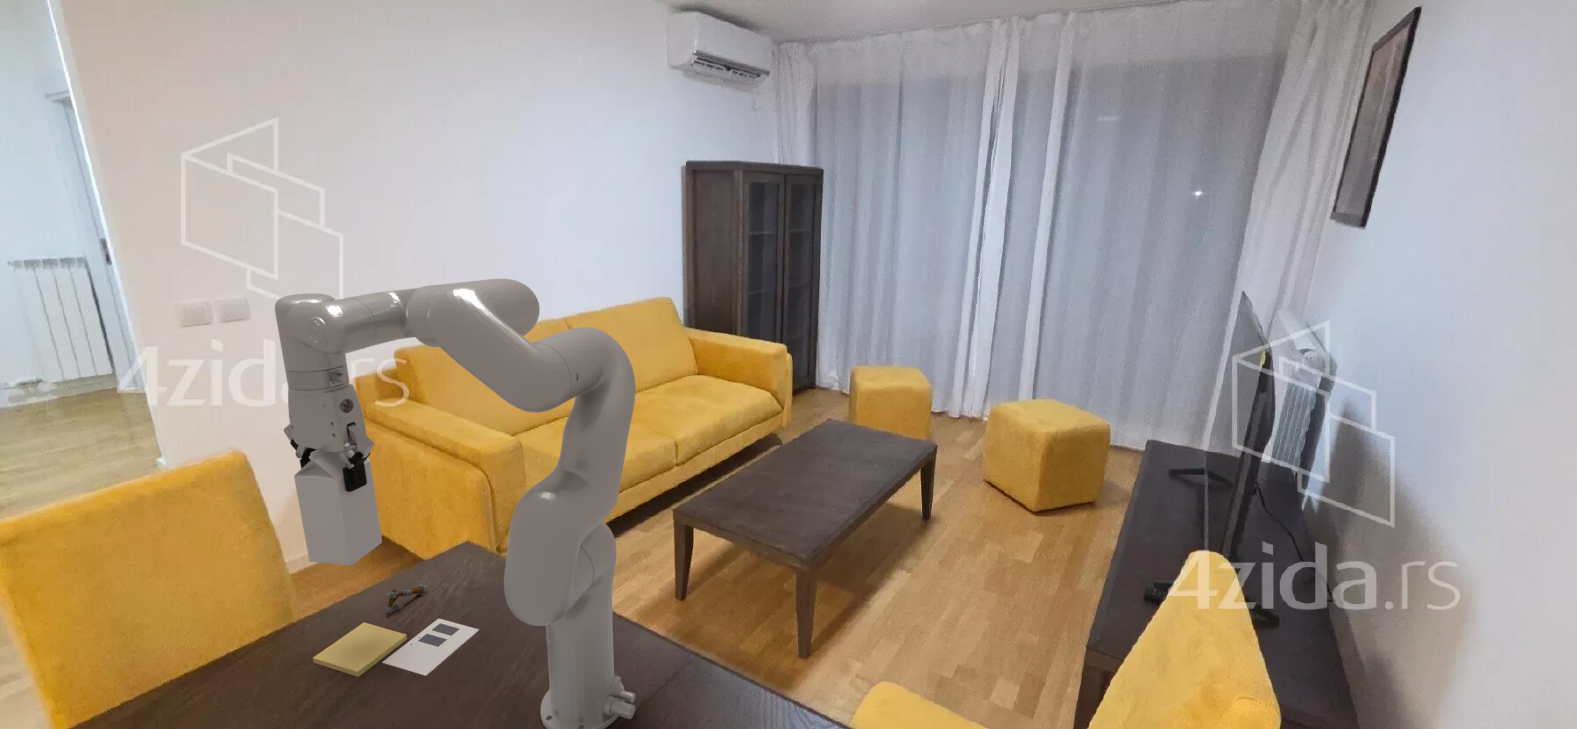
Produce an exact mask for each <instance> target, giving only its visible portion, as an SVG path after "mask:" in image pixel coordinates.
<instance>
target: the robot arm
mask: <svg viewBox="0 0 1577 729" xmlns="http://www.w3.org/2000/svg"><path fill="white" fill-rule="evenodd" d="M274 313H275V318H276V323H277V330H278V331H277V332H278V336H279V343H280V347H281V354H282V359H283V365H284V372H285V377H286V382H287V388H288V389H287V407H288V408H287V409H288V419H289V424H288V425H286V427H284V428H283V432H284V434H285V436H286V438H288V440H289V442H290V446H292V448H293V449H294V450H295V457H296V458H298V459H299V464H300V470H301V469H302V468H303V467H304V466H305V465H306V464H307V463H308V462H310V461H311V460H310V459H309V456H310V455H311V452H313V451H316V450H318V449H319V450H323V451H328V452H333V453H338V455H339V457H340V458H341V460H342V461H343V463H344V464H345V466H346V467H345V468H343V476H344V481H345V487H346V491H347V492H352V491H354V490H356V489H358V488H360V487H362V486H365V485H366V484H367V478H366V472H365V465H364V462H366V461H367V458H368V459H369V457H370V455H371V452H372V450H373V448H374V445H375V443H374V441H373V439H370V438H369V436H367V429H366V423H365V418H364V414H363V409H362V406H361V402H360V400H359V397H358V395H357V391H356V389H355V387H354V385H353V384H351V383H350V378H349V376H350V375H349V370H348V369H349V368H348V363H347V362H348V361H347V357H346V354H349V353H352V352H357V351H359V350H363V349H366V348H369V347H373V346H377V345H381V344H385V343H389V342H393V341H394V342H395V341H398V340H402V339H403V340H404V339H410V338H411V339H412V338H416V340H417V341H418V342H420V343H421V344H423V345H425V346H428V347H432V348H441V350H443V351H444V352H445V353H446V355H448V356H449V357H450V358H451V359H452V360H453V361H455V363H457V364H458V365H459V366H461V367H462V368H463V369H465V370H466V371H467V372H468V373H470V374H471V375H472V376H473V377H475V378H476V379H477V380H478V381H479V382H481V383H483V385H485V386H486V387H487V388H489V389H490V390H491V391H492V392H494V393H495V394H496V395H497V396H499V398H501V399H502V400H503V401H505V402H506V403H507V404H510V405H512V406H513V407H514V408H517V409H519V410H521V411H524V412H526V413H534V414H535V413H537V414H539V413H545V412H549V411H551V410H554V409H555V408H558V407H560V406H562V405H563V404H565V403H566V402H568V401H570V400H573V399H574V398H575V399H574V403H573V405H572V407H571V410H570V412H569V414H568V417H567V419H566V422H565V425H564V429H563V432H562V438H561V439H562V440H561V441H562V442H561V448H560V449H561V450H560V452H559V457H558V461H557V464H556V465H555V468H554V469H553V470H552V471H551V472H550V473H549V474H548V475H547V476H546V477H544V478H543V479H541V480H540V481H538V482H537V483H536V484H535V485H534V486H532V487H531V488H530V489H529V490H527V491H526V492H525V493H524V494H523V495H522V496H521V498H520V499H519V500H518V502H517V504H516V506H515V509H514V510H513V513H512V515H511V521H510V525H509V533H508V534H509V535H508V541H507V551H506V556H505V568H504V572H503V573H504V574H503V591H504V597H505V600H506V603H507V605H508V607H509V609H510V611H511V613H512V614H513V615H514V616H515V617H516V618H517V619H518V620H519V621H521V622H523V623H524V624H527V625H529V626H534V627H536V626H537V627H543V626H545V635H546V647H547V648H546V650H547V651H546V652H547V663H548V666H547V667H548V681H549V689H548V691H547V692H545V695H544V696H543V698H542V700H541V703H540V719H541V721H542V725H543V726H544V727H545V728H546V729H606V728H608V726H609V727H610V725H611V724H613V723H614V722H615V721H616V720H617V719H618V718H619V717H620V718H625V719H627V720H631V719H632V718H633V716H634V715H635V711H636V705H635V704H633V703H634V702H635V700H636V693H634V692H632V691H628V690H627V691H626V690H625V688H624V685H623V683H622V682H621V681H622V680H621V679H622V678H621V677H620V676H617V675H615V662H614V660H615V659H614V658H615V657H614V655H615V654H614V631H613V630H614V629H613V627H614V625H613V616H614V615H613V588H614V587H613V586H614V577H615V571H616V563H617V543H616V539H615V536H614V534H613V531H612V529H611V528H610V527H609V526H608V525H607V523H605V522H604V521H605V520H606V519H607V518H608V517H609V515H610V514H612V512H613V510H614V509H615V507H616V505H617V503H618V499H619V494H620V486H621V481H622V475H623V470H624V465H625V464H624V463H625V460H626V453H627V444H628V439H629V433H630V429H631V423H632V419H633V418H632V417H633V414H634V408H635V402H636V394H637V393H636V377H635V372H634V369H633V366H632V363H631V360H630V358H629V356H628V355H627V353H626V351H625V349H623V347H622V346H621V344H620V343H619V342H618V341H617V340H616V339H615V338H613V337H612V336H611V335H609V334H608V333H606V332H605V331H603V330H601V329H597V328H594V327H584V326H583V327H574V328H569V329H566V330H563V331H560V332H557V333H553V334H552V335H548V336H547V337H544V338H541V339H538V340H536V341H533V342H530V341H529V340H528V339H527V338H526V337H525V336H526V335H528V334H529V333H530V332H531V331H532V330H533V329H534V328H535V326H536V325H537V322H538V321H539V317H540V302H539V300H538V298H537V295H536V294H535V293H534V291H533V290H532V289H531V288H530V287H529V286H527V284H525V283H522V282H520V281H518V280H515V279H510V278H490V279H480V280H470V281H462V282H454V283H444V284H434V285H430V284H429V285H425V286H424V285H423V286H420V287H414V288H406V289H396V290H388V291H387V290H386V291H380V292H373V293H367V294H361V295H356V296H350V297H345V298H340V299H335V298H334V297H333V296H331V295H330V294H326V293H325V294H324V293H300V294H299V293H297V294H290V295H286V296H283V297H280V298H279V299H278V300H276V302H275V303H274ZM346 443H349V444H350V446H347V447H345V445H344V444H346ZM350 450H352V451H353V452H354V455H353V456H352V457H351V458H350V456H349V455H348V453H347V452H348V451H350Z"/></svg>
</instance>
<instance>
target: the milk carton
mask: <svg viewBox="0 0 1577 729" xmlns="http://www.w3.org/2000/svg"><path fill="white" fill-rule="evenodd" d="M344 445H345V447H347V446H350V444H349V443H346V444H344ZM347 453H348V455H349V456H350V458H351V457H352V456H353V455H354V452H353V451H352V450H350V451H348V452H347ZM309 459H310V460H311V461H310V462H308V463H307V464H306V465H305V466H304V467H303V468H302V469H301V468H300V469H299V471H297V472H296V473H295V474H294V475H293V478H294V483H295V488H296V495H297V500H298V506H299V512H300V517H301V523H302V529H303V533H304V539H305V544H306V549H307V556H308V560H309V562H312V563H320V564H331V565H343V566H352V565H354V564H355V563H357V562H358V561H360V560H361V559H362V558H363V557H365V556H366V555H368V554H369V553H370V552H372V551H373V550H374V549H375V548H377V547H378V546H380V545H381V544H382V543H383V540H382V539H383V538H382V532H381V524H380V517H379V511H378V504H377V497H376V491H375V484H374V483H375V482H374V476H373V470H372V463H371V459H369V457H368V458H367V461H366V462H364V465H365V472H366V478H367V484H366V485H365V486H362V487H360V488H358V489H356V490H354V491H352V492H347V491H346V487H345V481H344V476H343V468H345V467H346V466H345V464H344V463H343V461H342V460H341V458H340V457H339V455H338V453H333V452H328V451H323V450H319V449H318V450H316V451H313V452H311V455H310V456H309Z"/></svg>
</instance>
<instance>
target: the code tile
mask: <svg viewBox="0 0 1577 729" xmlns="http://www.w3.org/2000/svg"><path fill="white" fill-rule="evenodd" d="M479 631H480V629H479V628H475V627H471V626H467V625H464V624H460V623H457V622H453V621H450V620H446V619H443V618H437V619H436V620H435V621H433V622H432V623H431V624H429V625H428V626H427V627H426V628H424V629H423V630H422V631H421V632H419V633H418V634H417V635H415V636H414V637H413V638H412V639H410V640H409V641H408V642H406V643H405V644H404V645H402V646H401V647H400V648H398V650H396V651H395V652H393V653H392V654H391V655H390V656H388V657H387V658H385V660H383V661H382V664H385V665H389V666H390V667H391V666H392V667H395V668H398V669H402V670H405V671H407V672H408V671H409V672H412V673H415V674H419V675H421V676H424V677H426V676H429V674H430V673H432V671H434V670H435V669H436V668H437V667H438V666H440V665H441V664H442V663H443V662H444V661H446V659H447V658H449V657H450V656H451V655H452V654H454V653H455V652H456V651H457V650H458V649H459V648H461V646H463V644H465V643H466V642H467V641H469V639H471V638H472V637H473V636H474V635H476V634H477V632H479ZM419 637H420V638H419ZM411 644H412V645H411Z"/></svg>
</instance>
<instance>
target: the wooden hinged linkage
mask: <svg viewBox="0 0 1577 729" xmlns="http://www.w3.org/2000/svg"><path fill="white" fill-rule="evenodd" d="M417 585H418V586H417V587H415V588H414V587H413V588H412V589H409V588H408V589H400V591H398V590H397V589H395V588H394V589H392V590H391V591H388V593H387V594H386V597H387V598H389V600H388V603H387V606H386V609H385V613H384V615H386V616H390V615H391V613H392V611H393V610H394V611H399V610H402V609H403V608H404V607H405V605H404V603H401V602H399V603H395V602H396V601H397V600H398V599H399V597H402V598H403V597H409V596H411V595H419V596H426V592H427V589H428V586H427V585H424V584H421V583H420V584H417Z"/></svg>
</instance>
